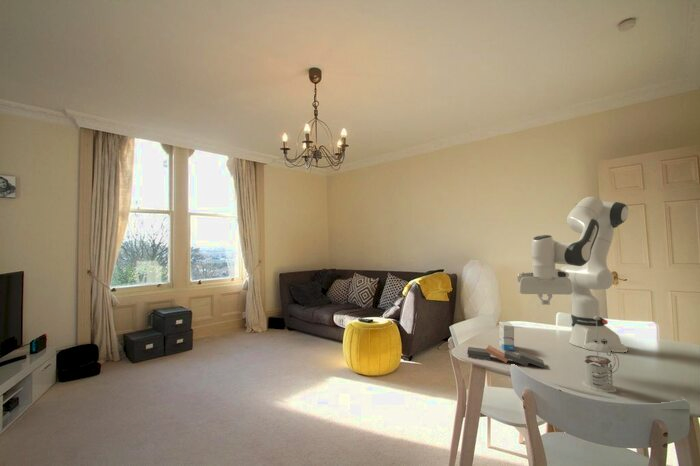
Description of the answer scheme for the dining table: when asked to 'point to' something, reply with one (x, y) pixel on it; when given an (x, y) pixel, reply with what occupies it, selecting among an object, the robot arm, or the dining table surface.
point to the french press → (599, 368)
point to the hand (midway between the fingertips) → (545, 304)
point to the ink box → (506, 335)
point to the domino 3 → (496, 353)
